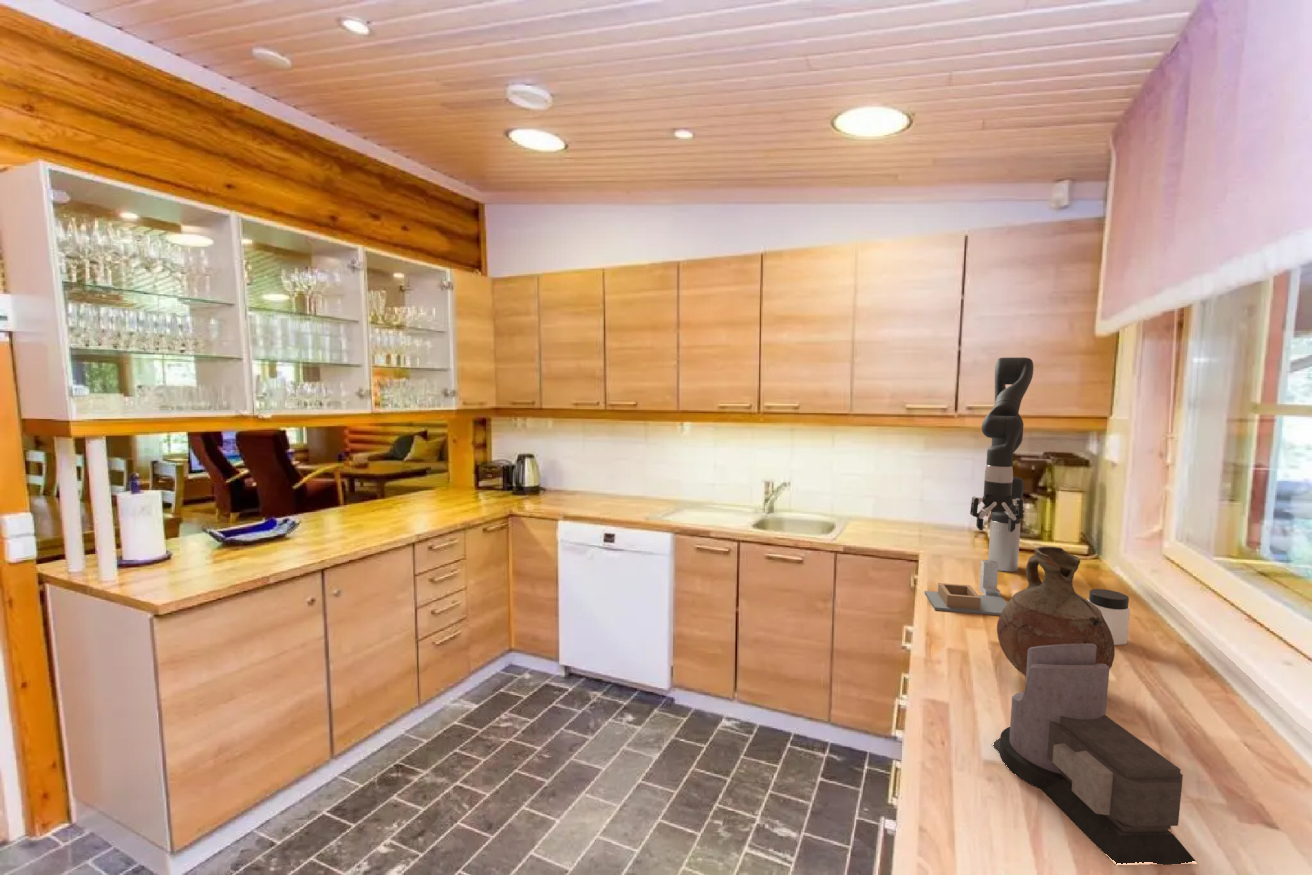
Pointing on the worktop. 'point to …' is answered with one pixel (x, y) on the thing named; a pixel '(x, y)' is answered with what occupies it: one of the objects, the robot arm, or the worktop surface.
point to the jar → (1113, 612)
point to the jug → (1051, 612)
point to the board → (964, 600)
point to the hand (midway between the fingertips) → (995, 530)
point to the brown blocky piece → (1092, 758)
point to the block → (989, 578)
